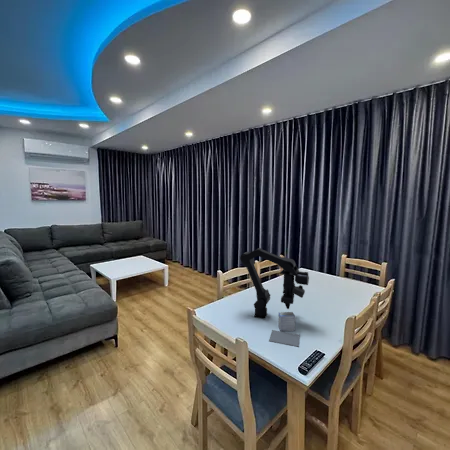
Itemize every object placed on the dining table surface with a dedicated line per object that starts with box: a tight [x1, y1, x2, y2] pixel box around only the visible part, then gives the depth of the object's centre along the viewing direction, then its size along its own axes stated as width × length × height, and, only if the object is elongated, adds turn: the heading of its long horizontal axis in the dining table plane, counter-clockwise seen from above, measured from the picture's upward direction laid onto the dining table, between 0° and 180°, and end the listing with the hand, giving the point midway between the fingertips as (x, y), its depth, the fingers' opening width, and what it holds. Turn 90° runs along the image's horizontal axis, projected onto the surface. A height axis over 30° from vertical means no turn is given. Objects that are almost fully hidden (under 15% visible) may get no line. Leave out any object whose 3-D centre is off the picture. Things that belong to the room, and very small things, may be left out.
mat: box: [268, 329, 301, 348], centre depth 120 cm, size 14×10×1 cm
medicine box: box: [277, 311, 296, 332], centre depth 128 cm, size 8×4×9 cm, turn 92°
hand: (288, 308), depth 135 cm, fingers closed
